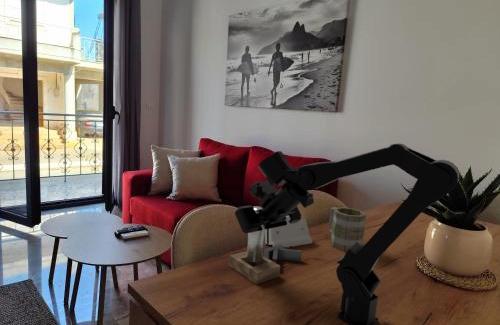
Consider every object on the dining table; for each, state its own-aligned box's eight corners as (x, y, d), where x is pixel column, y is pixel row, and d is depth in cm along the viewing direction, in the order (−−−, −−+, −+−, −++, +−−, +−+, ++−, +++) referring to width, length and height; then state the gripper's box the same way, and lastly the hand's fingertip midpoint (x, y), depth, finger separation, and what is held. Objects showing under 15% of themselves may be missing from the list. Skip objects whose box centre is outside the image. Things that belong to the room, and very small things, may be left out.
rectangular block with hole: (279, 276, 89) (280, 265, 89) (256, 284, 84) (257, 273, 84) (251, 259, 99) (252, 249, 98) (228, 265, 94) (229, 255, 93)
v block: (302, 261, 100) (303, 251, 100) (273, 270, 93) (274, 260, 92) (285, 252, 106) (286, 243, 105) (256, 260, 98) (257, 250, 98)
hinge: (273, 249, 107) (269, 218, 109) (265, 249, 111) (261, 218, 113) (313, 242, 116) (309, 213, 117) (304, 242, 120) (301, 214, 121)
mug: (369, 250, 112) (373, 216, 111) (342, 253, 108) (346, 217, 107) (340, 234, 127) (343, 203, 125) (315, 235, 123) (319, 204, 121)
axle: (266, 260, 91) (270, 209, 89) (253, 263, 88) (257, 211, 86) (255, 254, 94) (259, 205, 92) (243, 257, 91) (246, 207, 89)
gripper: (297, 171, 90) (267, 201, 100) (241, 174, 79) (214, 208, 89) (317, 206, 85) (283, 234, 95) (261, 216, 74) (229, 247, 84)
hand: (253, 230), depth 91 cm, fingers closed on axle, 4 cm apart
